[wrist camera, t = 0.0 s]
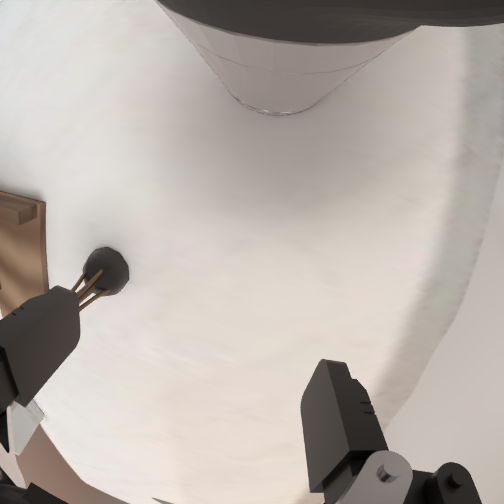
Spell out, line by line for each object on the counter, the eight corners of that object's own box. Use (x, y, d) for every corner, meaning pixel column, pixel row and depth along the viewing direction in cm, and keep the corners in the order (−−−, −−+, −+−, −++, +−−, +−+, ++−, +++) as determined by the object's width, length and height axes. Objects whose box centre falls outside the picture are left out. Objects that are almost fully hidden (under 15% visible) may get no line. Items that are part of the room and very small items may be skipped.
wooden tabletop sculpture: (92, 292, 28) (-21, 423, 10) (77, 253, 27) (-60, 369, 8) (135, 286, 28) (20, 446, 9) (120, 243, 26) (-31, 384, 7)
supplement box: (27, 390, 38) (-3, 433, 26) (45, 415, 41) (20, 457, 29) (8, 383, 39) (-21, 421, 27) (25, 408, 41) (0, 445, 30)
